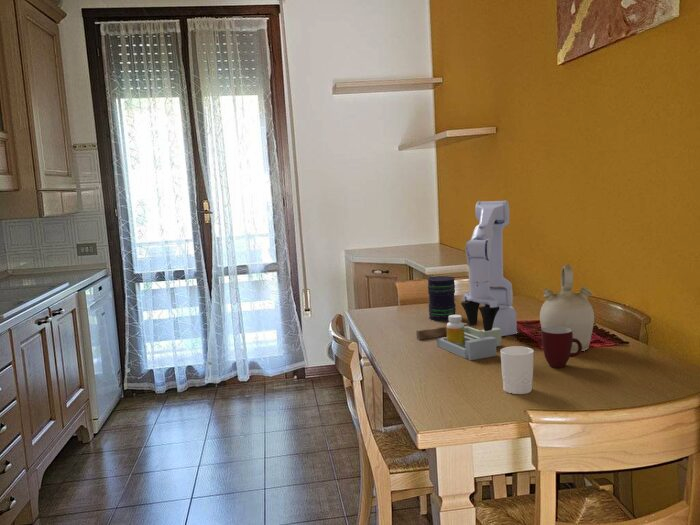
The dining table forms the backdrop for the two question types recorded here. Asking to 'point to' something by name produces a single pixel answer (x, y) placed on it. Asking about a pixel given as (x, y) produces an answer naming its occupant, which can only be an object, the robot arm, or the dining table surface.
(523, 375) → the white cup
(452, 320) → the supplement bottle
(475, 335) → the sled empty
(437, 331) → the walnut guide
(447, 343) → the gray rectangular open frame
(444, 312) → the storage jar
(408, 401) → the dining table surface
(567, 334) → the mug
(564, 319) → the jug
